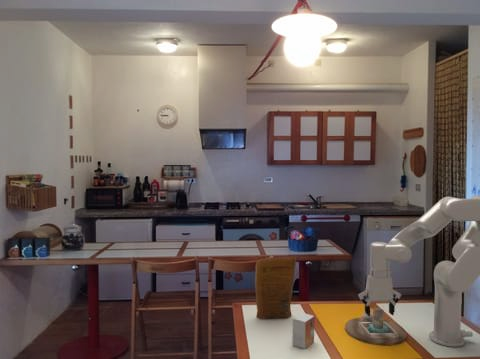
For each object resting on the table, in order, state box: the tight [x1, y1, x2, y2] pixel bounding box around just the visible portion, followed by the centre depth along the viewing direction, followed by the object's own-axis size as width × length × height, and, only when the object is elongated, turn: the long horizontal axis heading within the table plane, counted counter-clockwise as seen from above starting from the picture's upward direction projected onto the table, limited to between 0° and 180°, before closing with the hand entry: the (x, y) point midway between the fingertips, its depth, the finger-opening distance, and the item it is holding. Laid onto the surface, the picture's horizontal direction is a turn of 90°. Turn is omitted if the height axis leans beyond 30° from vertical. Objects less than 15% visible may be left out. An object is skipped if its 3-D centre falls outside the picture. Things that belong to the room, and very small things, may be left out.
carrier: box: [344, 312, 407, 346], centre depth 169 cm, size 24×24×4 cm
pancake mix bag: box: [254, 256, 297, 320], centre depth 183 cm, size 7×19×28 cm, turn 98°
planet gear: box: [368, 307, 388, 333], centre depth 166 cm, size 8×8×9 cm
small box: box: [292, 312, 316, 349], centre depth 157 cm, size 8×6×10 cm
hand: (379, 314), depth 165 cm, fingers open, 9 cm apart
